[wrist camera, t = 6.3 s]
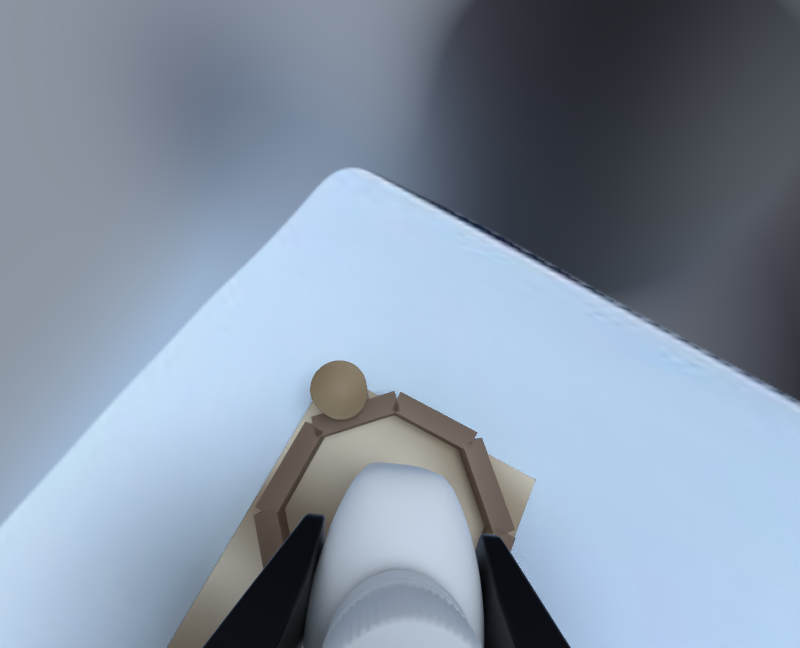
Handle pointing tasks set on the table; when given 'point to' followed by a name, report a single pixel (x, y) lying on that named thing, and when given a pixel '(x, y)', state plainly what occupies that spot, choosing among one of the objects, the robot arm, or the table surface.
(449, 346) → the table surface
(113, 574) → the table surface
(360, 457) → the board
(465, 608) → the eye dropper bottle
